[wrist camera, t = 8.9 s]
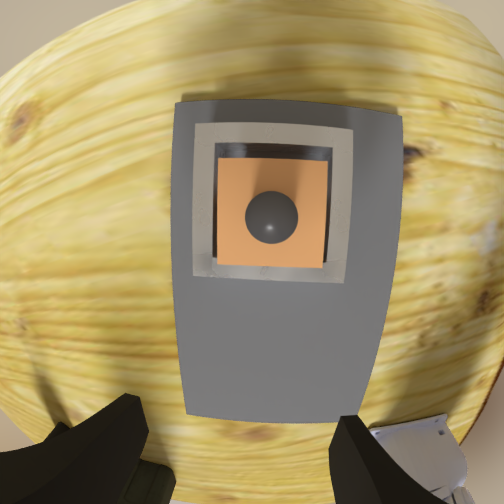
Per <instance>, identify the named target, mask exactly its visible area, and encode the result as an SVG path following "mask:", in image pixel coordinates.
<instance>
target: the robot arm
mask: <svg viewBox="0 0 504 504" xmlns="http://www.w3.org/2000/svg"><path fill="white" fill-rule="evenodd" d="M447 417H448V416H447V414H442V415H438V416H434V417H430V418H425V419H421V420H416V421H412V422H407V423H401V424H396V425H390V426H384V427H377V428H371V429H369V430H368V428H367V427H366V426H365V424H364V423H363V422H362V420H361V419H360V418H359V416H358V415H347V416H340V419H339V422H338V425H337V428H336V431H335V433H334V436H333V439H332V441H331V444H330V446H329V467H330V475H331V481H332V486H333V491H334V496H335V502H336V504H475V502H474V500H473V498H472V496H471V494H470V493H469V491H468V489H467V488H466V487H462V486H463V484H464V482H465V479H466V476H467V461H466V458H465V456H464V453H463V452H462V450H461V448H460V446H459V445H458V443H457V441H456V439H455V438H454V436H453V434H452V433H451V431H450V429H449V428H448V426H447V424H446V423H445V421H446V419H447ZM148 433H149V429H148V426H147V423H146V419H145V415H144V412H143V408H142V404H141V401H140V397H138V396H134V395H131V394H127V393H125V394H123V395H122V396H120V397H119V398H118V399H116V400H115V401H113V402H112V403H110V404H109V405H107V406H106V407H105V408H103V409H102V410H100V411H99V412H97V413H96V414H94V415H93V416H91V417H90V418H88V419H86V420H85V421H83V422H82V423H80V424H78V425H76V426H75V427H73V428H71V429H69V430H68V431H66V432H64V433H62V434H60V435H58V436H56V437H54V438H51V439H49V440H46V441H44V442H41V443H38V444H35V445H32V446H29V447H25V448H21V449H18V450H13V451H7V452H0V504H117V502H118V499H119V497H120V494H121V492H122V490H123V488H124V486H125V484H126V482H127V480H128V478H129V477H130V475H131V473H132V471H133V469H134V467H135V465H136V463H137V461H138V459H139V457H140V455H141V453H142V451H143V448H144V445H145V442H146V439H147V436H148Z"/></svg>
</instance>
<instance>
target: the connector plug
mask: <svg viewBox="0 0 504 504" xmlns="http://www.w3.org/2000/svg"><path fill="white" fill-rule="evenodd" d="M327 170H328V161H314V160H298V159H274V158H218V195H217V264H223V265H247V266H273V267H302V268H322V266H323V254H324V240H325V223H326V203H327Z"/></svg>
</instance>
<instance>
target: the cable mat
mask: <svg viewBox="0 0 504 504" xmlns="http://www.w3.org/2000/svg"><path fill="white" fill-rule="evenodd" d="M224 122H259V123H286V124H302V125H314V126H325V127H334V128H343V129H351V130H353V176H352V199H351V215H350V229H349V240H348V251H347V260H346V269H345V277H344V283H322V282H295V281H272V280H252V279H234V278H217V277H201V276H193V251H192V201H193V162H194V140H195V124H197V123H224ZM225 158H274V159H298V160H314V161H322V155H312V154H297V153H279V152H247V151H225ZM402 190H403V125H402V116H399V115H394V114H390V113H385V112H379V111H374V110H369V109H363V108H356V107H350V106H343V105H335V104H326V103H316V102H305V101H291V100H268V99H227V100H204V101H190V102H179V103H175V113H174V126H173V143H172V164H171V259H172V281H173V298H174V312H175V324H176V335H177V345H178V355H179V363H180V372H181V379H182V387H183V394H184V401H185V407H186V413H187V414H188V415H195V416H201V417H208V418H216V419H225V420H234V421H246V422H261V423H331V422H339V419H340V416H347V415H357V414H358V411H359V409H360V406H361V403H362V400H363V397H364V394H365V391H366V388H367V385H368V382H369V379H370V376H371V372H372V369H373V365H374V362H375V358H376V355H377V351H378V347H379V344H380V340H381V336H382V331H383V327H384V323H385V318H386V314H387V309H388V304H389V299H390V294H391V288H392V282H393V276H394V270H395V263H396V256H397V249H398V240H399V231H400V220H401V207H402Z"/></svg>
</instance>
